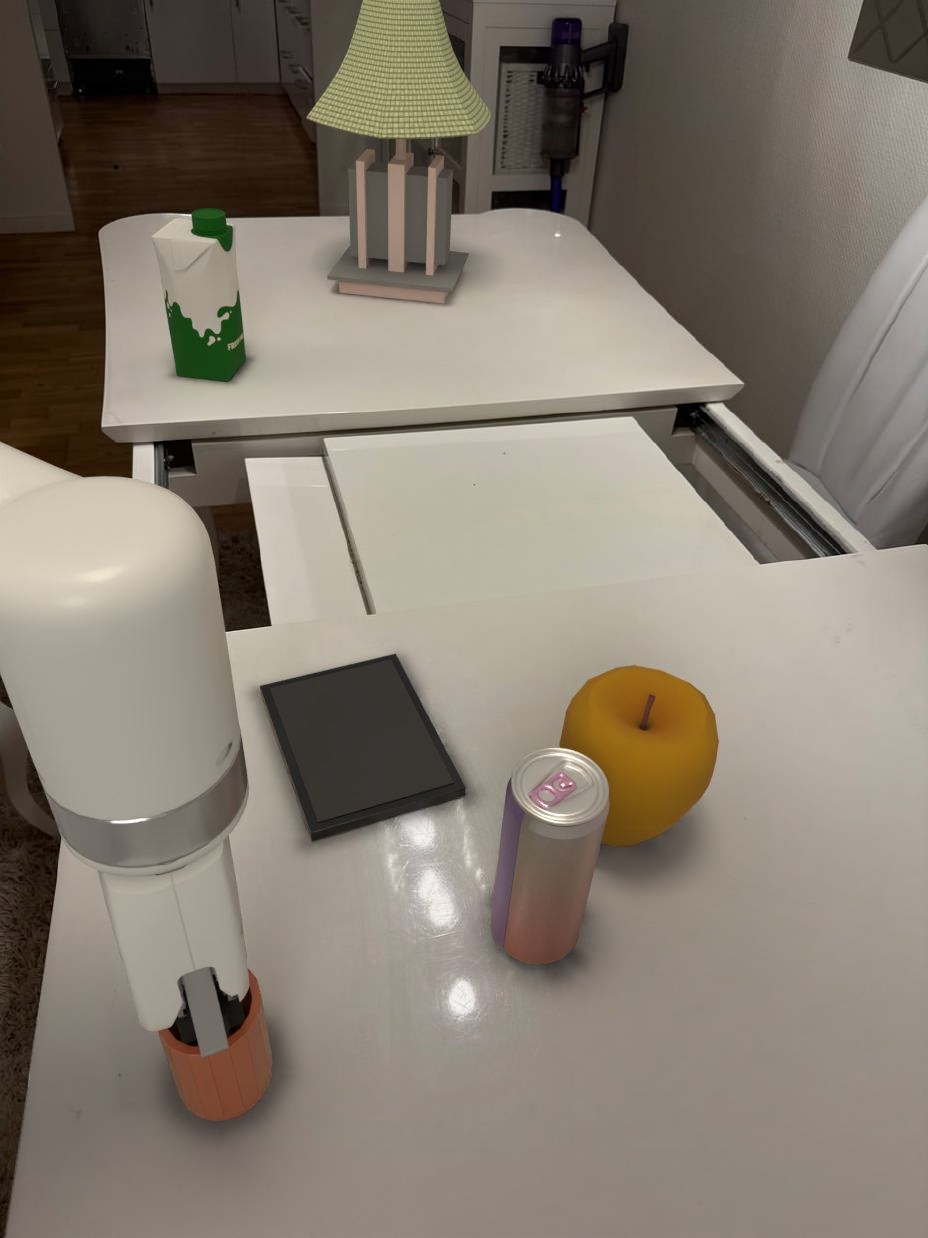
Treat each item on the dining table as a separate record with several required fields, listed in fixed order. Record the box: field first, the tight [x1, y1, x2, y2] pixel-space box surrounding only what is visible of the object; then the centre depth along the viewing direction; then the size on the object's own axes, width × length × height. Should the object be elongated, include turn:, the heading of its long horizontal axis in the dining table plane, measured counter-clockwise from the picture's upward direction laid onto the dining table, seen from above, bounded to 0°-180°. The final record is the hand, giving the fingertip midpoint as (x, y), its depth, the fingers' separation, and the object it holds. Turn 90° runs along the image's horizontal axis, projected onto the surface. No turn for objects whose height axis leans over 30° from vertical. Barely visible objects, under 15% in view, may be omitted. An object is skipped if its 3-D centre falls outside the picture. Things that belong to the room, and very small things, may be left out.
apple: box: [559, 664, 720, 849], centre depth 65 cm, size 11×11×13 cm
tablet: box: [259, 653, 467, 842], centre depth 74 cm, size 12×16×1 cm
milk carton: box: [150, 207, 247, 382], centre depth 118 cm, size 9×9×20 cm
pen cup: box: [156, 968, 274, 1122], centre depth 51 cm, size 5×5×8 cm
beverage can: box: [490, 746, 610, 965], centre depth 57 cm, size 6×6×15 cm
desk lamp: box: [305, 0, 492, 304], centre depth 139 cm, size 26×28×40 cm
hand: (208, 1003), depth 49 cm, fingers closed
